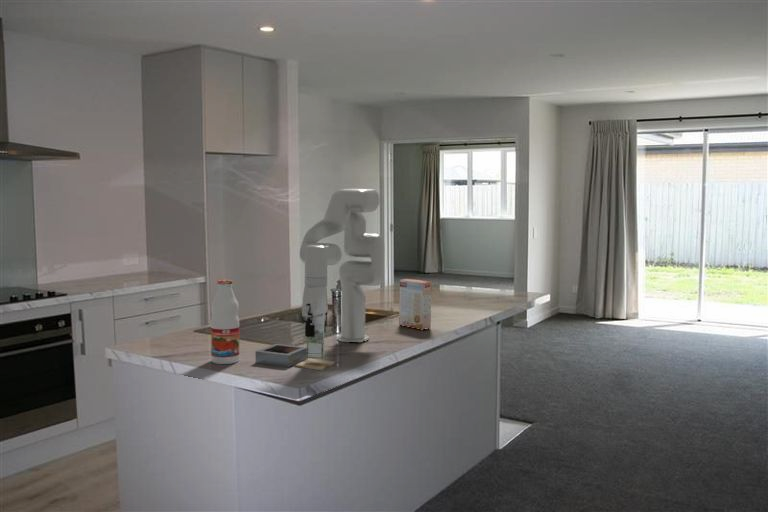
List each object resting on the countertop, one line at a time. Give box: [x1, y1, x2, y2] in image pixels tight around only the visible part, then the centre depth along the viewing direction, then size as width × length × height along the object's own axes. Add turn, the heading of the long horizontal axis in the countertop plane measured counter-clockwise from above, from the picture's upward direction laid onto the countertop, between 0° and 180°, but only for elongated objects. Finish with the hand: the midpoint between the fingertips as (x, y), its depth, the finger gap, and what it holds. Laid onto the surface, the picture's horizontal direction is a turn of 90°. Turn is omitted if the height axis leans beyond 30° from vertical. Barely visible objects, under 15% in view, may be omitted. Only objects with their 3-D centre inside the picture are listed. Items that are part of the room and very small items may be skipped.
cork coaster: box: [294, 358, 336, 371], centre depth 223 cm, size 10×10×1 cm
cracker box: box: [398, 278, 433, 329], centre depth 287 cm, size 14×6×21 cm, turn 44°
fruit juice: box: [210, 279, 240, 365], centre depth 224 cm, size 9×9×28 cm
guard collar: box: [255, 343, 309, 368], centre depth 227 cm, size 13×13×4 cm
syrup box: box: [306, 314, 325, 359], centre depth 222 cm, size 6×6×14 cm
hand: (315, 333), depth 222 cm, fingers closed on syrup box, 7 cm apart
